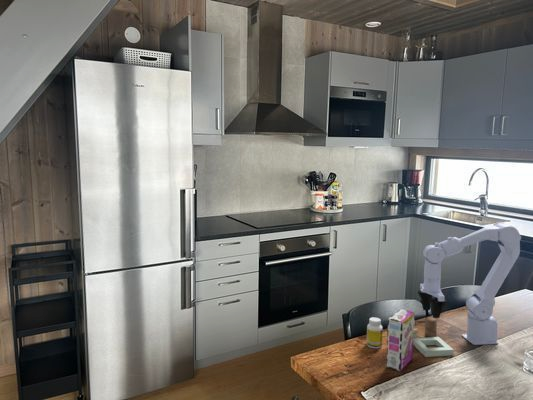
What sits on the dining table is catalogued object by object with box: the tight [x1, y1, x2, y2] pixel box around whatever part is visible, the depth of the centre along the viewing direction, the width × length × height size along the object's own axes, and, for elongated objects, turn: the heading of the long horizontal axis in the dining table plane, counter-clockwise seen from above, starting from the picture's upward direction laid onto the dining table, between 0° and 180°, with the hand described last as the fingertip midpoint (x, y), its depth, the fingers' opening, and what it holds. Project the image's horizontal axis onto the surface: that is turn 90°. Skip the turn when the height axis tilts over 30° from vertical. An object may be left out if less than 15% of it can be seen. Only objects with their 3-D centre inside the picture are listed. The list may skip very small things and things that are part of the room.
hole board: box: [413, 336, 455, 358], centre depth 142 cm, size 10×10×2 cm
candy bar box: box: [386, 308, 415, 372], centre depth 132 cm, size 11×5×16 cm, turn 141°
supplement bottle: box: [366, 316, 383, 349], centre depth 145 cm, size 5×5×10 cm
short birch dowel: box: [413, 328, 419, 338], centre depth 149 cm, size 4×4×4 cm
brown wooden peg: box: [424, 317, 438, 338], centre depth 151 cm, size 4×4×7 cm
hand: (431, 313), depth 150 cm, fingers open, 7 cm apart
